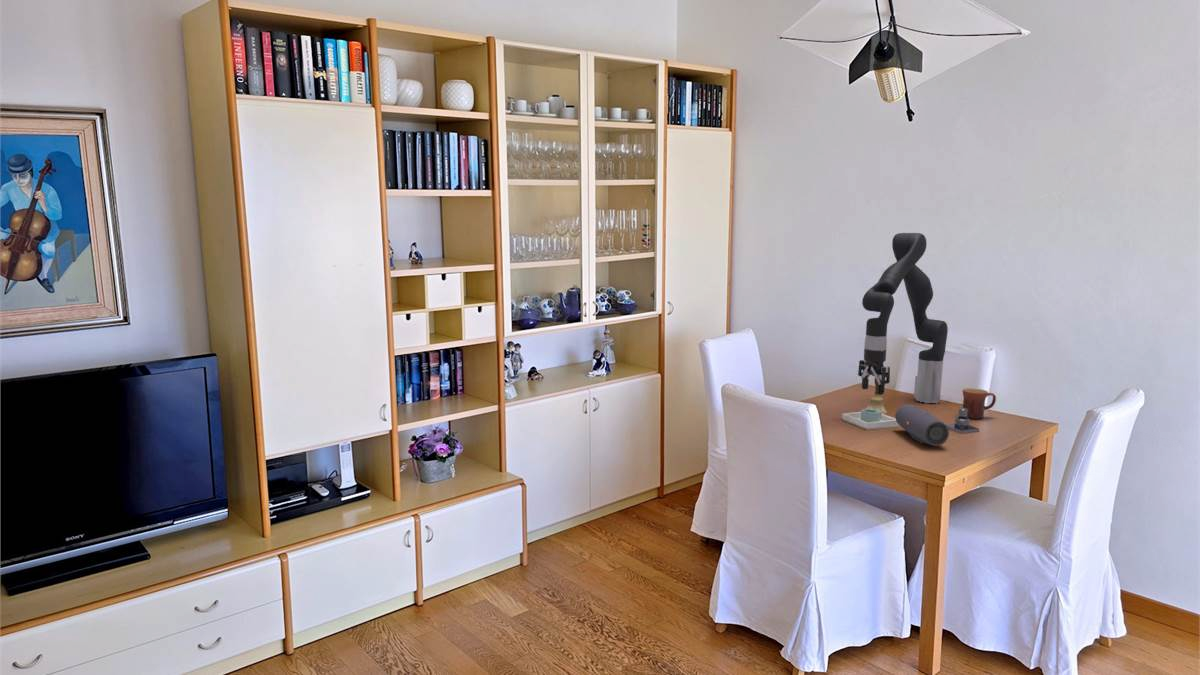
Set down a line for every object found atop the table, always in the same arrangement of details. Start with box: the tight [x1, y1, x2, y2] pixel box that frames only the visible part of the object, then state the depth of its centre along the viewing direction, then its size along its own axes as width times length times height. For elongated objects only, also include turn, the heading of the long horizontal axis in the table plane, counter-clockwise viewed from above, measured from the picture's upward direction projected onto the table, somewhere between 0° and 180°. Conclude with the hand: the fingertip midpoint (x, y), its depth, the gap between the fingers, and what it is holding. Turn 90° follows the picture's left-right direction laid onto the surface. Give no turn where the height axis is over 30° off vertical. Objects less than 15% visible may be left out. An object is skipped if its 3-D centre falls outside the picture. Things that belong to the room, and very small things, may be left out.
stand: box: [945, 407, 980, 434], centre depth 294 cm, size 8×8×8 cm
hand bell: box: [865, 374, 888, 415], centre depth 316 cm, size 8×8×16 cm
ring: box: [860, 408, 882, 422], centre depth 301 cm, size 6×7×4 cm
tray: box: [841, 411, 900, 431], centre depth 301 cm, size 14×14×2 cm
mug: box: [962, 387, 997, 420], centre depth 310 cm, size 12×9×10 cm
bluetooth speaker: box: [894, 403, 950, 447], centre depth 281 cm, size 23×9×10 cm, turn 4°
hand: (872, 391), depth 299 cm, fingers open, 8 cm apart
